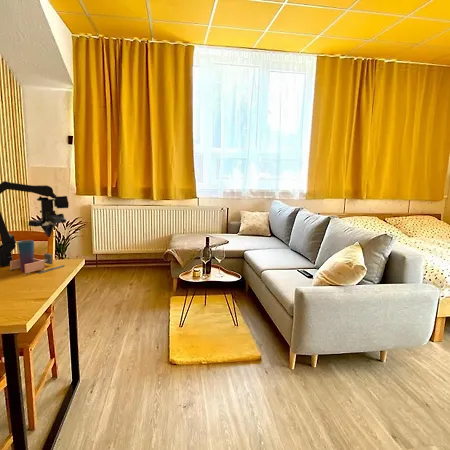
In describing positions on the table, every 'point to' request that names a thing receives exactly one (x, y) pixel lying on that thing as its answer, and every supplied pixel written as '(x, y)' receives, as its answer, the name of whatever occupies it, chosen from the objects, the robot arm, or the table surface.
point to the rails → (50, 269)
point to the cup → (26, 252)
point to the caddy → (32, 264)
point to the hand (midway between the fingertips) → (48, 237)
